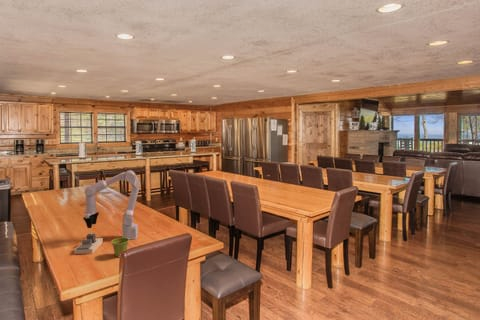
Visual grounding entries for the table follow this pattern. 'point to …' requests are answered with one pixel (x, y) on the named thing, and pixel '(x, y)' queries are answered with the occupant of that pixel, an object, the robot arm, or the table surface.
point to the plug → (91, 237)
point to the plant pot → (119, 245)
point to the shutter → (85, 244)
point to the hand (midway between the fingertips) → (91, 226)
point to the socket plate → (92, 248)
